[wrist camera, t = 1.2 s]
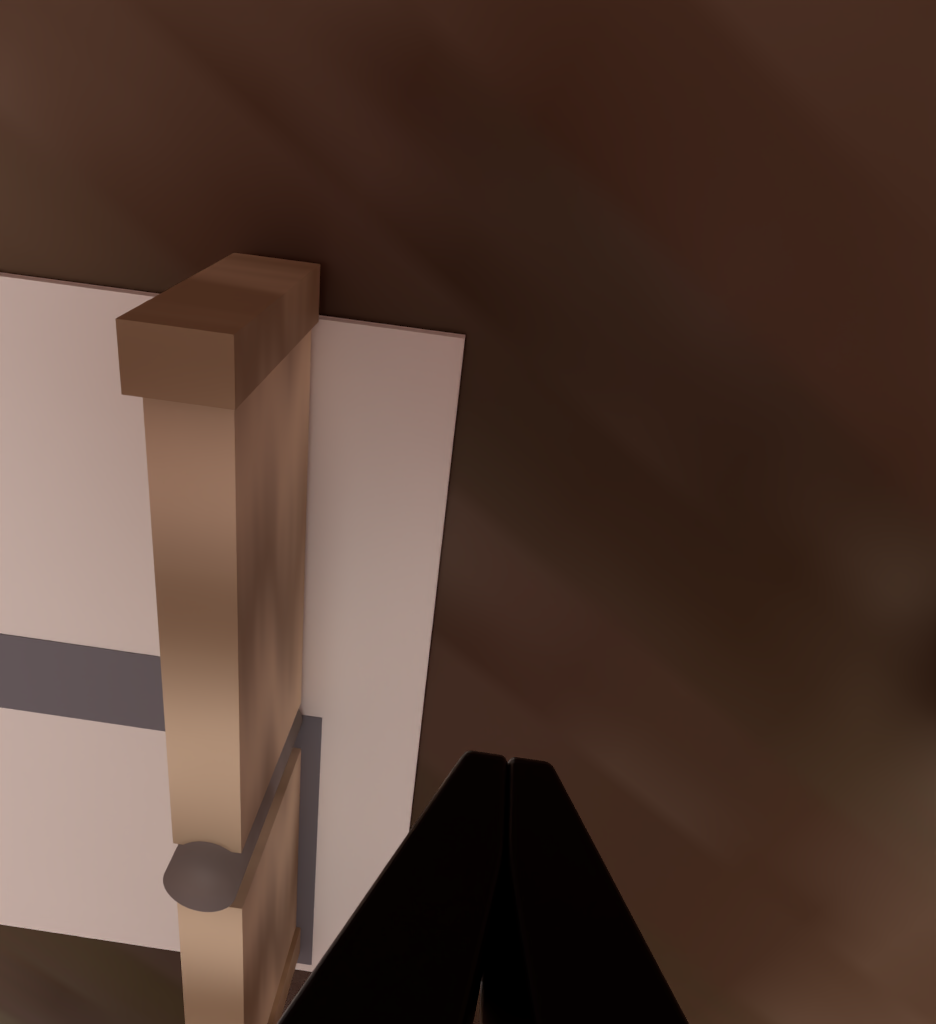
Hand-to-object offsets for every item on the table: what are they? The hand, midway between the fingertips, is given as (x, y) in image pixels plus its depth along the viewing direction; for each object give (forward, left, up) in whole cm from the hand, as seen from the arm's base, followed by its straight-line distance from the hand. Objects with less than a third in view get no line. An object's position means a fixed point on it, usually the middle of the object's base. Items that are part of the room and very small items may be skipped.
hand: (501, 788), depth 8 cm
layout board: (-10, +10, -12) cm, 18 cm away
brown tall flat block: (-4, +5, -11) cm, 13 cm away
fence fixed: (-16, +5, -12) cm, 20 cm away
